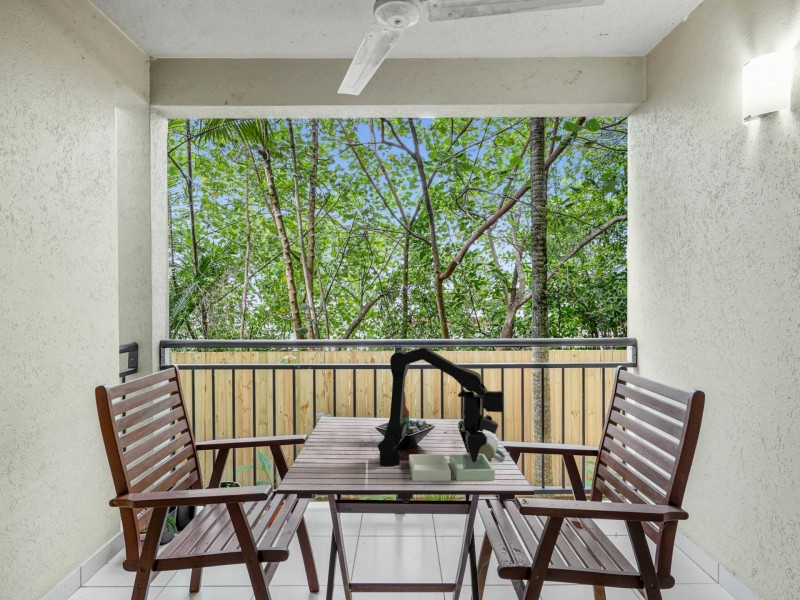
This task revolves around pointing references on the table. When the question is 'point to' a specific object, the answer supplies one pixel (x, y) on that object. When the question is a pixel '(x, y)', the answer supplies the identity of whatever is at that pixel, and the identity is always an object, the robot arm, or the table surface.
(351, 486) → the table surface
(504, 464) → the table surface
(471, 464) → the stone block
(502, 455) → the ceramic mug
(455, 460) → the green bin
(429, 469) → the cream bin
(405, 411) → the bottle
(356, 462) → the table surface
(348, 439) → the table surface
